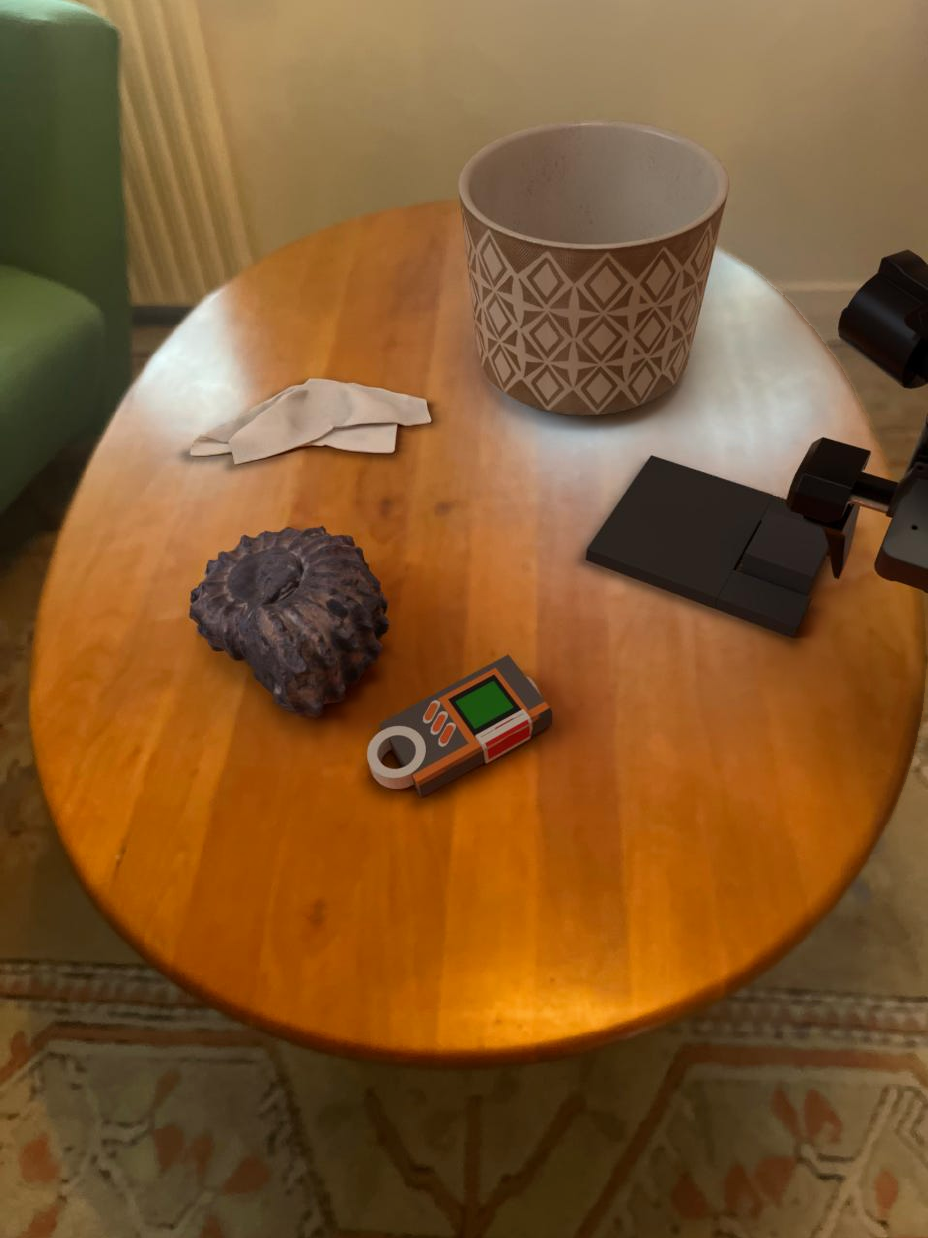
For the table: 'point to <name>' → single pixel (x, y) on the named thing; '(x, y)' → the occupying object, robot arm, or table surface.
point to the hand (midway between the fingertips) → (900, 596)
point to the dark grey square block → (786, 553)
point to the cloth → (316, 421)
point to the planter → (589, 260)
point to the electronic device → (459, 728)
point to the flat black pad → (697, 542)
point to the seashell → (294, 613)
